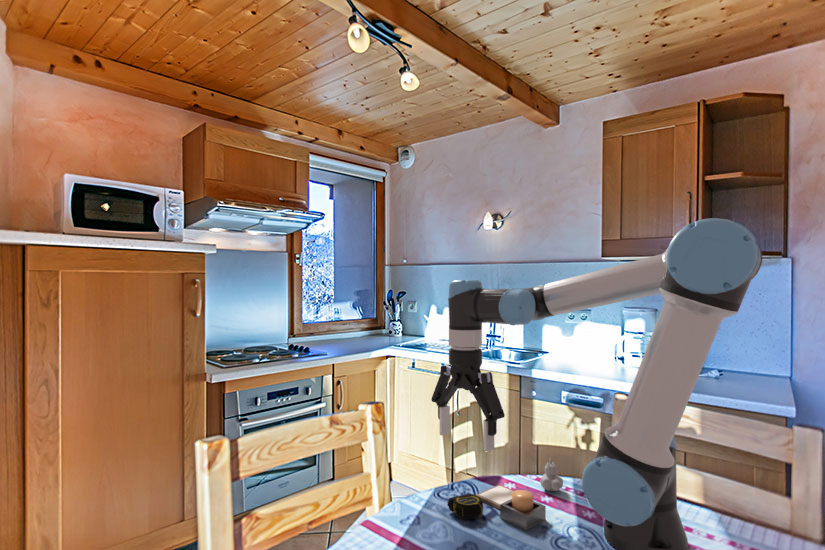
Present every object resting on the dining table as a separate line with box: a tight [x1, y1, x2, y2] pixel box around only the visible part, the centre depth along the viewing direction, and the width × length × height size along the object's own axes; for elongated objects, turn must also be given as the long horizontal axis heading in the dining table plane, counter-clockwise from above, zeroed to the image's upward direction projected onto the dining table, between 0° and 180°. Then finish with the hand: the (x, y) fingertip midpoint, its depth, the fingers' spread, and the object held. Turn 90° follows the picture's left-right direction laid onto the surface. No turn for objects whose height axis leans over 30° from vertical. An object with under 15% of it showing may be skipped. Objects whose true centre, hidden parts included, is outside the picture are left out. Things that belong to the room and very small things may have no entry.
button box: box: [499, 499, 547, 531], centre depth 102 cm, size 7×7×3 cm
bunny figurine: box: [540, 457, 564, 492], centre depth 116 cm, size 5×7×8 cm
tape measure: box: [446, 493, 484, 520], centre depth 104 cm, size 7×7×4 cm
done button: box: [512, 489, 534, 514], centre depth 102 cm, size 5×5×3 cm
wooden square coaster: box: [475, 484, 515, 510], centre depth 112 cm, size 9×9×1 cm
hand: (465, 441), depth 105 cm, fingers open, 13 cm apart
